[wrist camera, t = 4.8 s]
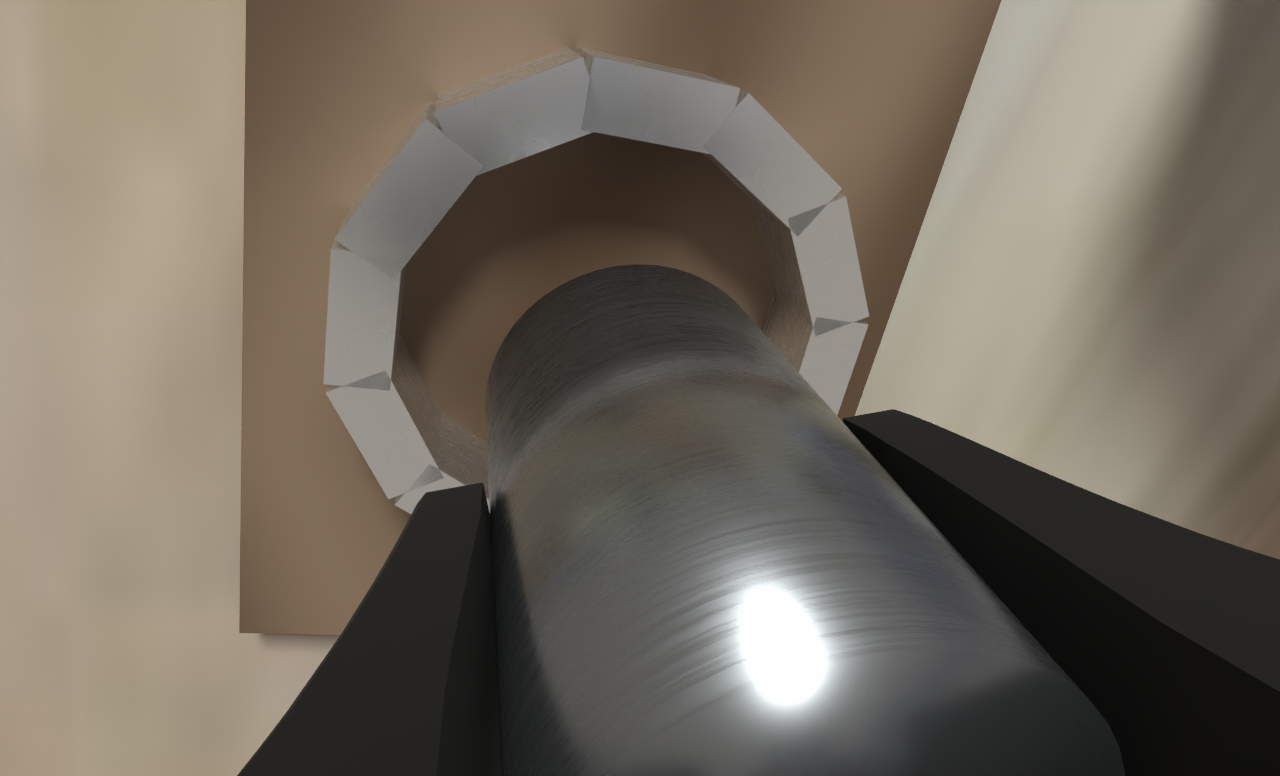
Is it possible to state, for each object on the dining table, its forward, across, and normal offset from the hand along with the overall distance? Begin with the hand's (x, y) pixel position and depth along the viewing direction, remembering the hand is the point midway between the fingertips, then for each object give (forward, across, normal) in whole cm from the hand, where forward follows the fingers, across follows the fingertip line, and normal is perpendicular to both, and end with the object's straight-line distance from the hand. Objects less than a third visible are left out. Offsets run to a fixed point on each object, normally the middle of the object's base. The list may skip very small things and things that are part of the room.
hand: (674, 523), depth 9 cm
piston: (+2, 0, 0) cm, 3 cm away
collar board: (+8, 0, 0) cm, 8 cm away
